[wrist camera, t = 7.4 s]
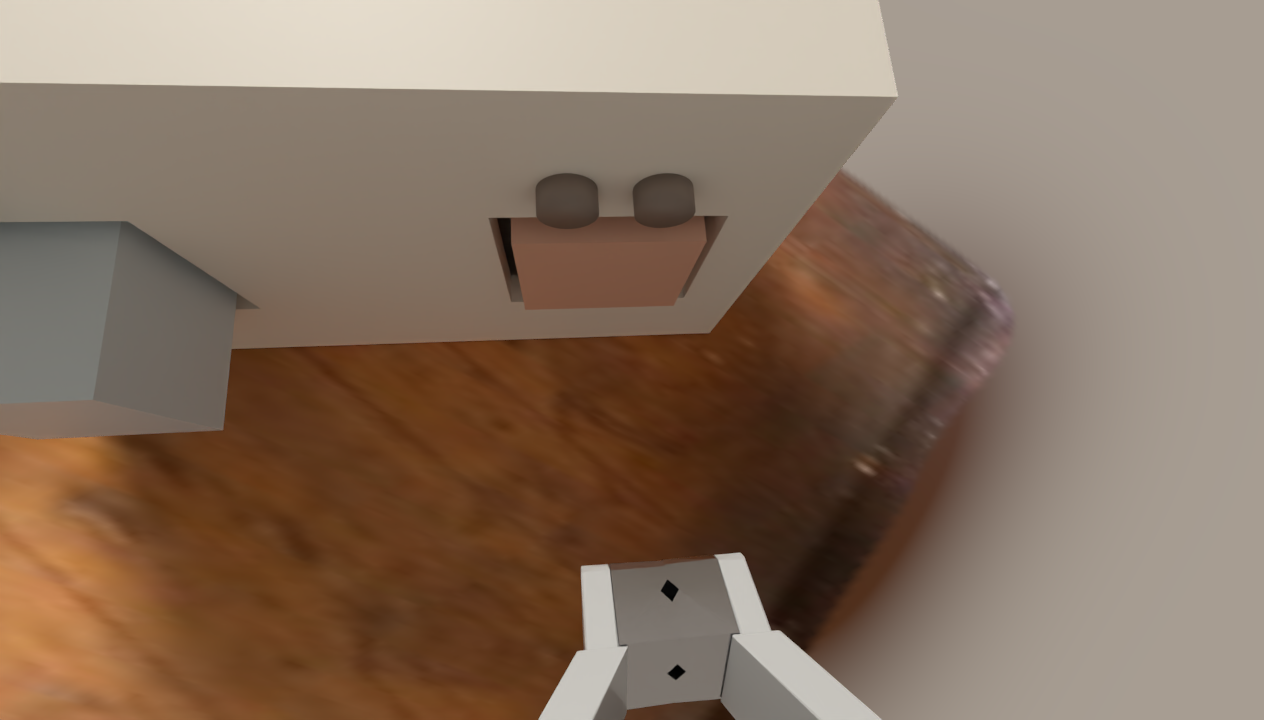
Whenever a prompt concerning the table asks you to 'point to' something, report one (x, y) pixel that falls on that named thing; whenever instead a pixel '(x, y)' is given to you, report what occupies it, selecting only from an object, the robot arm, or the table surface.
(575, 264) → the button two
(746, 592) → the robot arm
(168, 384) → the button one
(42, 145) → the block
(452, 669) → the table surface
